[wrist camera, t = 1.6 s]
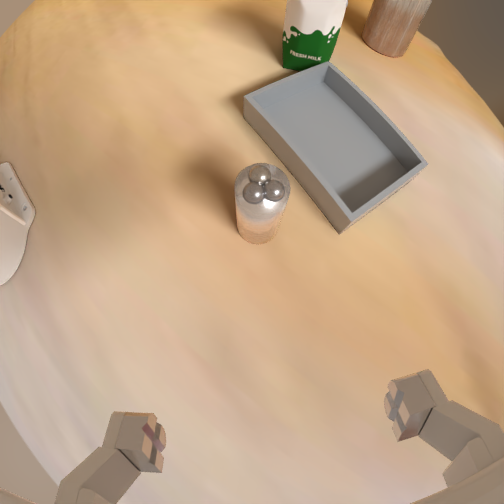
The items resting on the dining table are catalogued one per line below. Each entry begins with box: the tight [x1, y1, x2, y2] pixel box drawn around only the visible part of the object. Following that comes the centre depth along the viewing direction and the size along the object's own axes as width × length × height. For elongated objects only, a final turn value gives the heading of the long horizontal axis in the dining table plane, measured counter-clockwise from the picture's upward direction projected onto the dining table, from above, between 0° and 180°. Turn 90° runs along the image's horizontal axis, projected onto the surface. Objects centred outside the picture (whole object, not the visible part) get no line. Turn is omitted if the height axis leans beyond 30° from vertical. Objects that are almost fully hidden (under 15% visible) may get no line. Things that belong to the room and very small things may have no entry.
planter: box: [362, 0, 432, 57], centre depth 39 cm, size 10×10×23 cm
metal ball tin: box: [235, 163, 290, 244], centre depth 33 cm, size 5×5×12 cm
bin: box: [244, 61, 428, 234], centre depth 40 cm, size 22×16×5 cm
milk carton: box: [283, 0, 348, 71], centre depth 37 cm, size 9×9×20 cm
